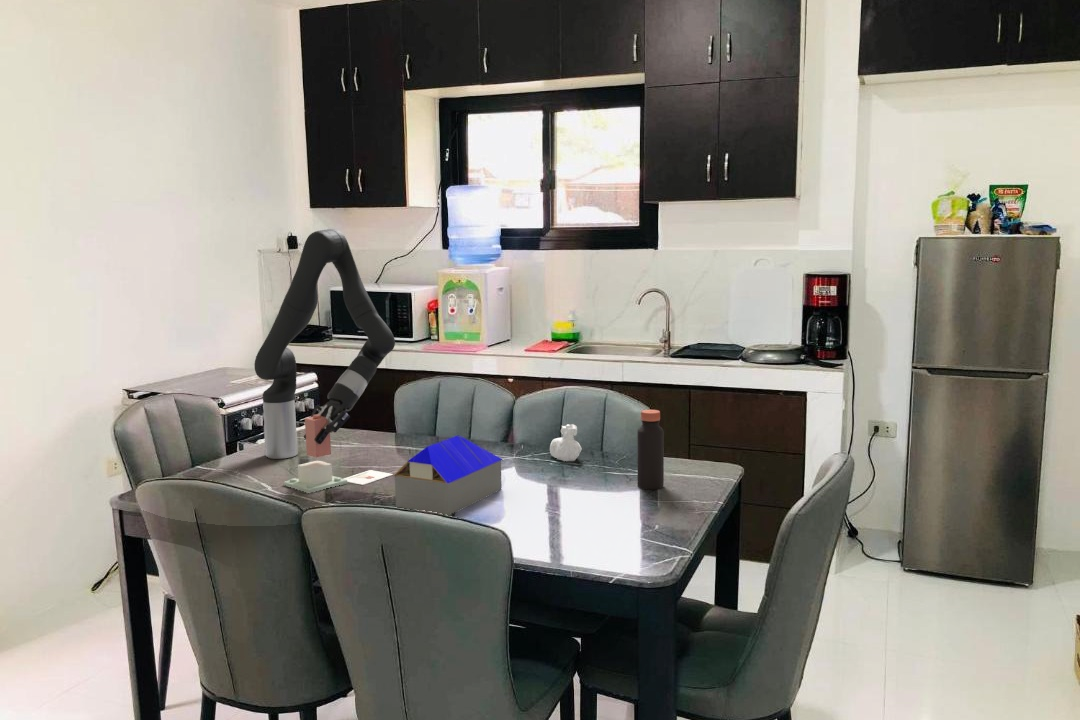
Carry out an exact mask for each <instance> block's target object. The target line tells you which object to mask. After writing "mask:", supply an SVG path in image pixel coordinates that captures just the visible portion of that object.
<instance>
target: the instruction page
mask: <svg viewBox="0 0 1080 720" xmlns="http://www.w3.org/2000/svg"><path fill="white" fill-rule="evenodd" d="M394 474H395V473H394ZM394 474H393V473H389V472H384V471H378V470H374V469H373V470H372V469H369V470H366V471H363V472H359V473H357V474H354V475H350V476H347V477H344V478H343V479H345V480H347V483H350V484H355V485H360V486H364V485H368V484H370V483H373V482H376V481H379V480H382V479H385V478H389V477H391V476H393V475H394Z"/></svg>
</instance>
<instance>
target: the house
mask: <svg viewBox="0 0 1080 720" xmlns="http://www.w3.org/2000/svg"><path fill="white" fill-rule="evenodd" d="M502 461H503V459H502V458H501V457H500V456H497V455H495V454H493V452H490V451H488V450H486V449H485V448H482V447H481V446H479V445H477V444H475V443H473V442H472V441H470V440H468V439H466V438H464V437H463V436H461V435H458V434H457V435H455V436H453V437H450V438H447V439H444V440H441V441H439V442H436V443H433V444H431V445H427V446H426V447H425V448H423V449H422V450H421V451H419V452H418V453H417V454H416V455H414V456H413V457H411V458H410V459H408V460H407V461H406V462H405V463H404V464H403V465H402V466H401V467H400V468H399V469H398V470H397V471H396V472H395V473H394V475H392V477H394V492H395V495H394V496H395V508H398V507H403V508H402V509H404V508H409V509H408V510H410V509H417V510H425V511H432V512H437V513H442V514H447V515H449V516H451V515H452V514H450V513H453V514H455V513H457V512H459V511H461V510H463V509H465V508H467V507H469V506H471V505H473V504H475V503H477V502H479V501H480V499H481V500H483V499H485V498H487V497H489V496H491V495H493V494H495V493H497V492H499V491H500V490H499V489H501V488H502V489H503V487H502ZM502 489H501V490H502ZM498 490H499V491H498ZM496 491H497V492H496ZM494 492H495V493H494ZM492 493H493V494H492ZM490 494H491V495H490ZM488 495H489V496H488ZM486 496H487V497H486ZM482 498H483V499H482ZM478 500H479V501H478ZM462 508H463V509H462ZM460 509H461V510H460ZM458 510H459V511H458ZM456 511H457V512H456ZM454 512H455V513H454Z"/></svg>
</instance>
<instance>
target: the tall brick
mask: <svg viewBox="0 0 1080 720" xmlns="http://www.w3.org/2000/svg"><path fill="white" fill-rule="evenodd" d="M326 419H327V418H326V417H323V416H321V415H320V414H316V415H313V417H311V416H310V417H305V418H304V430H305V431H304V432H305V434H306V439H305V446H306V448H305V449H306V456H310V457H312V458H313V457H314V458H319V457H325V456H328V455H329V456H330V455H332V449H331V447H332V445H331V433H330V434H328V435H327V437H326V438H325V439H324V441H323V442H322V443H321V444H318V443H317V442H316V441H315V440H314V439H315V438H316V436H317V435H318V433H319V432H320V430H321V429H323V426H324V424H325V423H326Z"/></svg>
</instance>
